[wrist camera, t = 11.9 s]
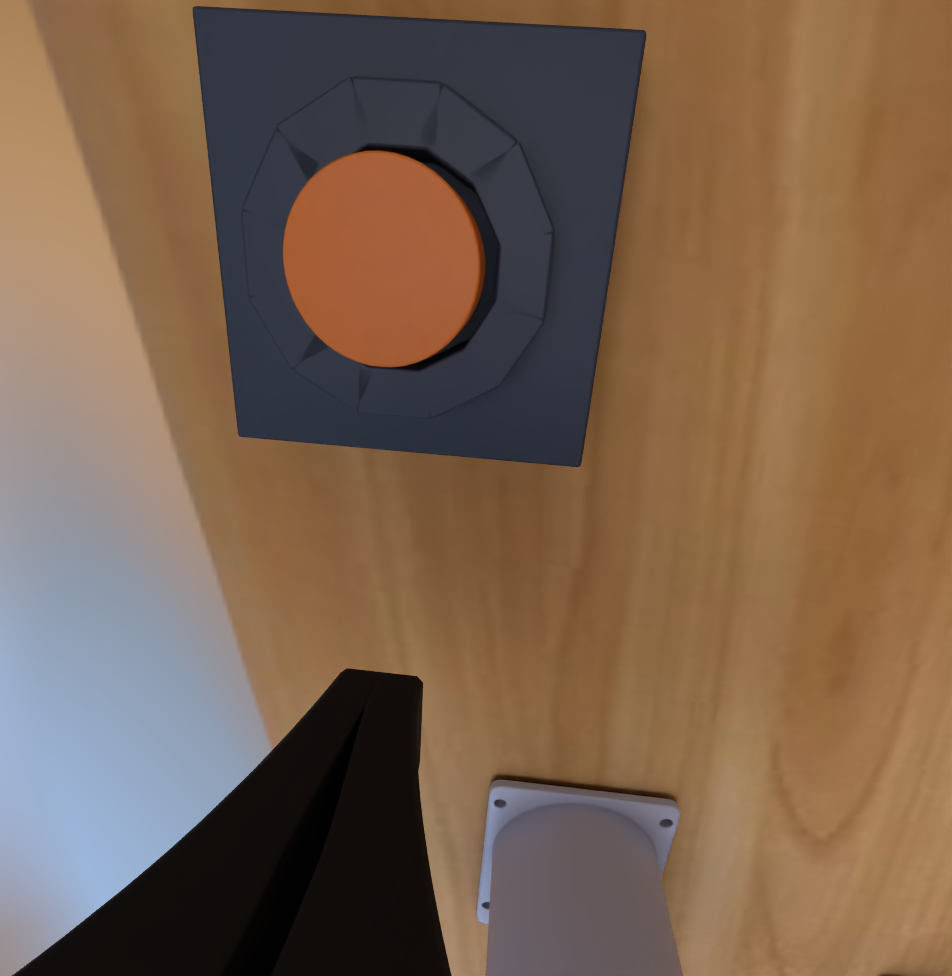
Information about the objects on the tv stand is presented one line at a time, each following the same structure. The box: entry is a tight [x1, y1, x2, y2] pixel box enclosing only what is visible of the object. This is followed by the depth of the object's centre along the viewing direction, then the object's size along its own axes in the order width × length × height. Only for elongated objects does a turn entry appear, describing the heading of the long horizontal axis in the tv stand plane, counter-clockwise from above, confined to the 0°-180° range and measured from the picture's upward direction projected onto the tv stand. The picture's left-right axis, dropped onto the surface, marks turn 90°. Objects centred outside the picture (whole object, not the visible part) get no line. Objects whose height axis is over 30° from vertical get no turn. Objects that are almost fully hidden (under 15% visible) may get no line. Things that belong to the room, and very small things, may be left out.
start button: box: [283, 151, 486, 367], centre depth 12 cm, size 4×4×2 cm
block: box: [193, 6, 646, 467], centre depth 14 cm, size 10×10×4 cm
